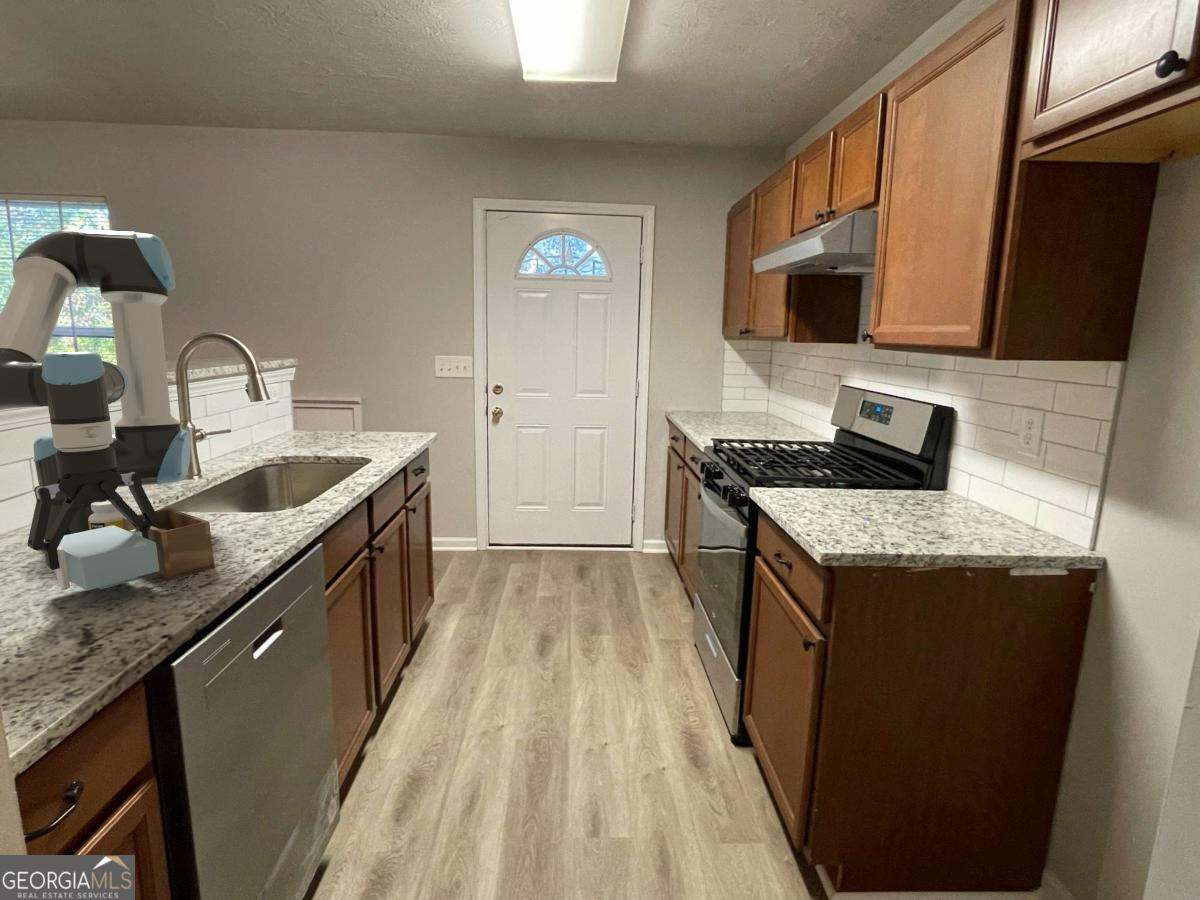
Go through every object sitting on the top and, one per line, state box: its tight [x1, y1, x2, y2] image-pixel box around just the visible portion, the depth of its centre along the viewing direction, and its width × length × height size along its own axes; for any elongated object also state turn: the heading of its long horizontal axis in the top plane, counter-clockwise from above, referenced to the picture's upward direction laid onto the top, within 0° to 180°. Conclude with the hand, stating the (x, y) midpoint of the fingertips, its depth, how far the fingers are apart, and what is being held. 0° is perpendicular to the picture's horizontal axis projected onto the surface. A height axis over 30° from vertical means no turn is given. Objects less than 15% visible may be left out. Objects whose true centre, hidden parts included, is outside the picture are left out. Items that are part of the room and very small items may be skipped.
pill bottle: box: [88, 500, 124, 530], centre depth 122 cm, size 6×6×11 cm
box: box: [123, 507, 215, 582], centre depth 117 cm, size 16×8×9 cm, turn 57°
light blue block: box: [44, 525, 159, 592], centre depth 104 cm, size 17×10×6 cm, turn 57°
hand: (104, 575), depth 105 cm, fingers closed on light blue block, 10 cm apart
